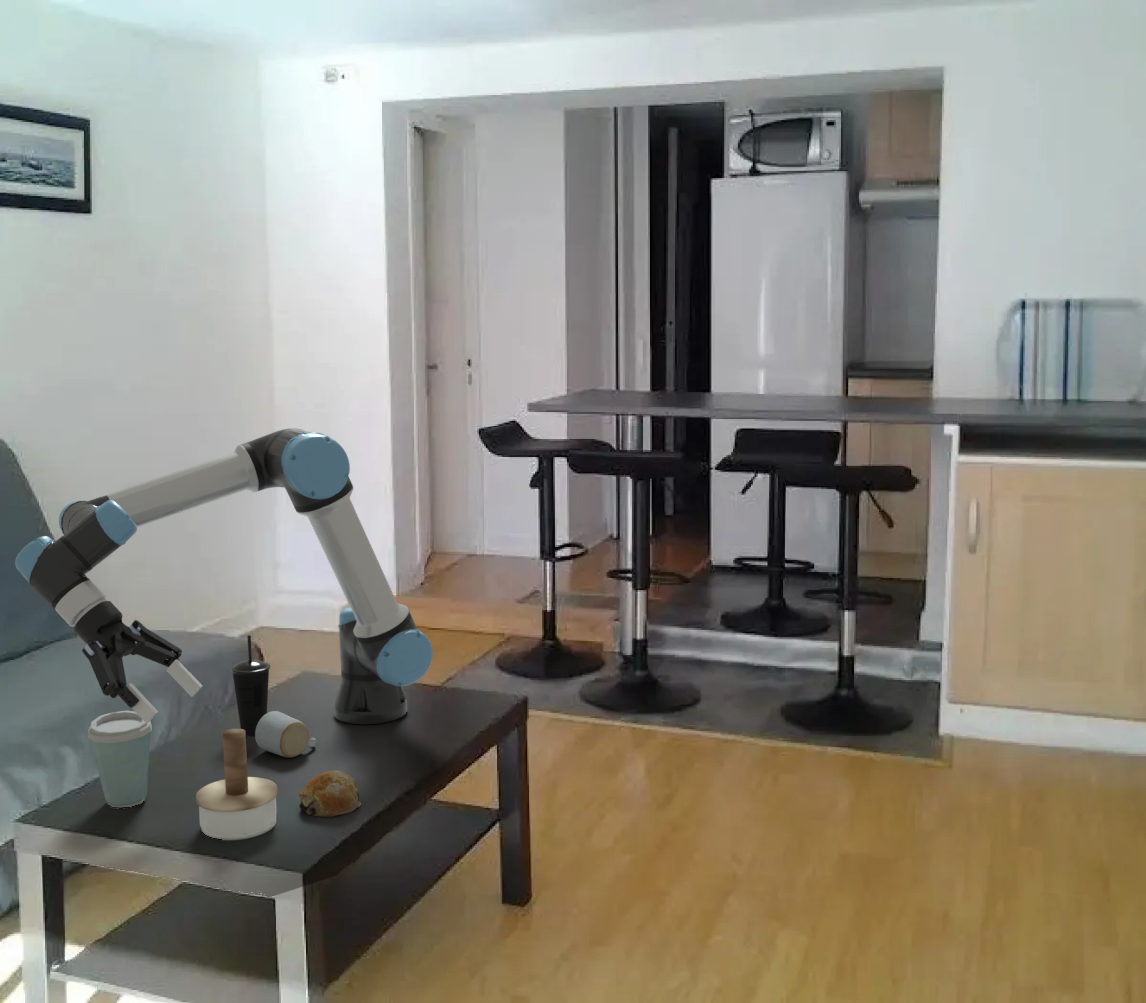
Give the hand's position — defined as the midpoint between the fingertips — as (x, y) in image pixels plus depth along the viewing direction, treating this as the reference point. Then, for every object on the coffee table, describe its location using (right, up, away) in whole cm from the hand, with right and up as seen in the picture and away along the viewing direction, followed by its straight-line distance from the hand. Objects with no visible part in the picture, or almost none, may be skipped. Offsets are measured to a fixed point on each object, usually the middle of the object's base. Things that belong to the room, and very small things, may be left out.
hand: (175, 704), depth 214 cm
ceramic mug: (+12, -14, +30) cm, 36 cm away
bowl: (+12, -19, -4) cm, 23 cm away
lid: (+12, -14, -5) cm, 19 cm away
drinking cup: (+3, -12, +41) cm, 43 cm away
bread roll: (+25, -18, +3) cm, 32 cm away
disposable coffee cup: (-11, -18, +6) cm, 22 cm away
